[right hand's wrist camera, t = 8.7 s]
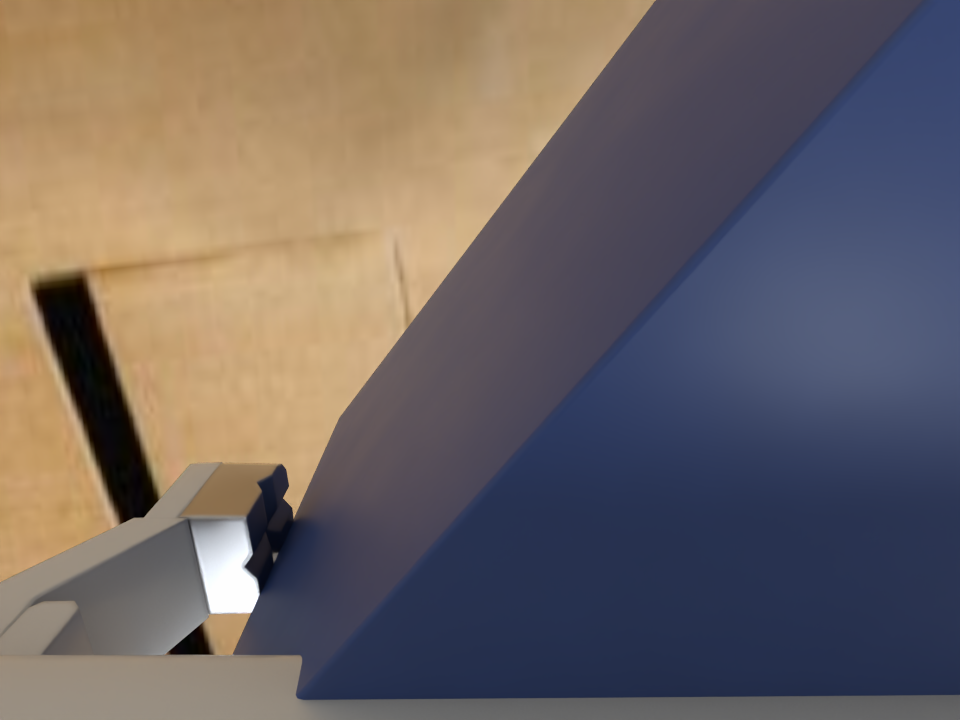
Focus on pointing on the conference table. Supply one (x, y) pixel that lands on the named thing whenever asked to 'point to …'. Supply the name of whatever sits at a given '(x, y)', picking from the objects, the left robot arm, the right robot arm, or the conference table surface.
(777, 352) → the bar
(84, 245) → the conference table surface
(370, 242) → the conference table surface
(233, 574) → the right robot arm
